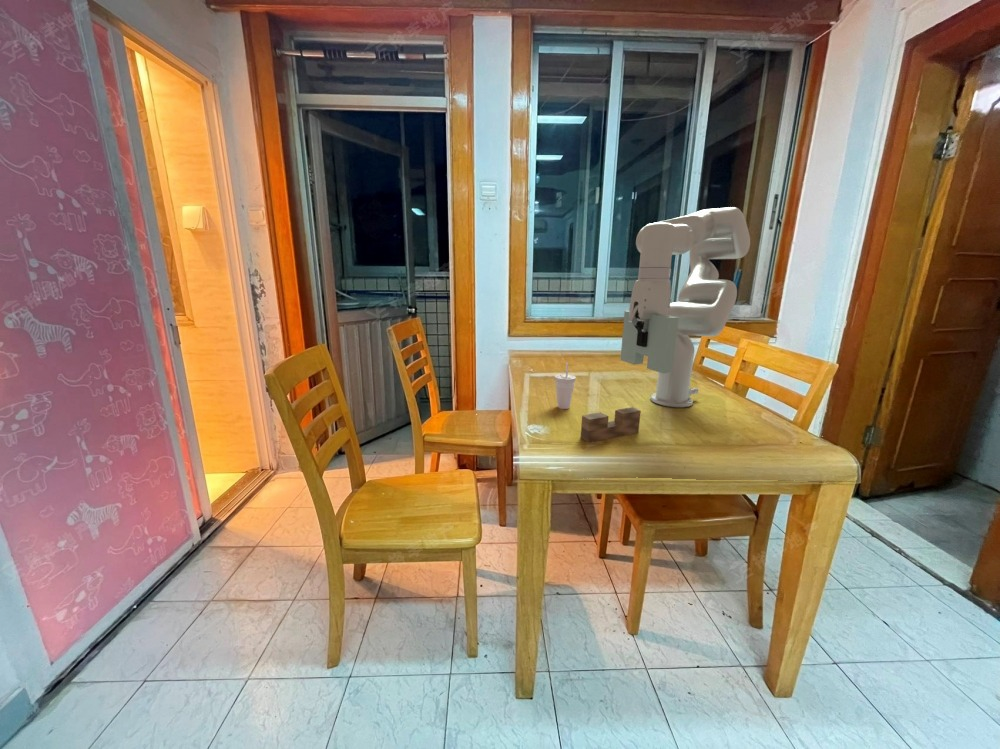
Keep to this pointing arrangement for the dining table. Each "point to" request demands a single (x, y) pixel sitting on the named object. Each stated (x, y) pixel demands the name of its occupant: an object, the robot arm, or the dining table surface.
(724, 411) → the dining table surface
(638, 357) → the cross plate
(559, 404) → the smoothie
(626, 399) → the dining table surface
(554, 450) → the dining table surface
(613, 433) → the brown long block
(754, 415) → the dining table surface
